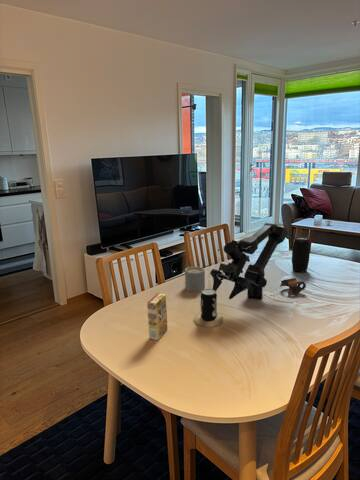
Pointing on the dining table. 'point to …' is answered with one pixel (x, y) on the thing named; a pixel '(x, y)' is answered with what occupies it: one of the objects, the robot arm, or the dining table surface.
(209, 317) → the beverage can
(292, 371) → the dining table surface
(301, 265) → the portable speaker
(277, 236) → the robot arm
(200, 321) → the disc
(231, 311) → the dining table surface
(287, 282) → the pottery mug
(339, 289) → the dining table surface
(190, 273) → the coffee mug
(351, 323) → the dining table surface
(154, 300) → the candy box
